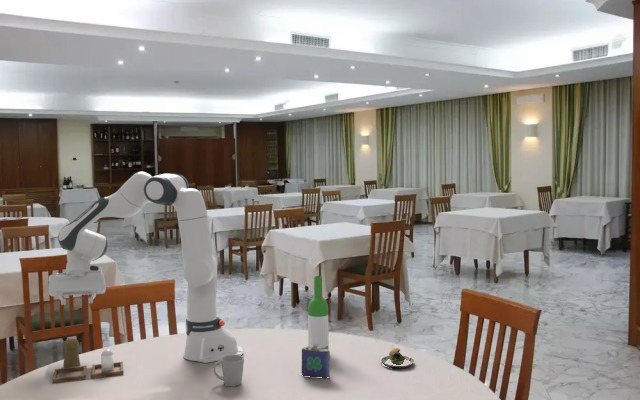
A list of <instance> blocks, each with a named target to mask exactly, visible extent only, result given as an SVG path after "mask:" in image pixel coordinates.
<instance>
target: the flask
mask: <svg viewBox="0 0 640 400" xmlns="http://www.w3.org/2000/svg"><path fill="white" fill-rule="evenodd" d="M313 345H314V346H313V347H310V348H309V347H308V345H307V346H304V347H302V348H301V376H302V375H303V376H310V377H322V378H325V379H326V378H327V377H329V378H330V377H331V376H330V372H331V371H330V367H331V366H330V353H331V352H330V350H328V349H317V345H318V344H313ZM303 376H302V377H303Z"/></svg>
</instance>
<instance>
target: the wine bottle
mask: <svg viewBox="0 0 640 400" xmlns="http://www.w3.org/2000/svg"><path fill="white" fill-rule="evenodd" d="M313 280H314V284H313V285H314V286H313V287H314V288H313V289H314V291H313V292H314V293H313V298H311V300H310V301H309V302H308V306H307V307H308V308H307V310H308V311H307V312H308V313H307V319H308V320H307V325H308V326H307V334H308V335H307V337H308V338H307V339H308V340H307V343H308V345H307V346H308V347H309V348H310V347H313V346H314V345H313V344H318V345H317V349H328V350H329V349H330V348H329V347H330V346H329V344H330V342H329V304H328V301H327V299H325V298H324V297H323V277H322V276H321V275H315V276H314V278H313ZM329 351H330V350H329Z"/></svg>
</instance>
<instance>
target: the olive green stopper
mask: <svg viewBox="0 0 640 400" xmlns="http://www.w3.org/2000/svg"><path fill="white" fill-rule="evenodd" d="M62 347H63V350H64V357H63V367H62V368H70V367H78V366H81V361H80V360H81V359H80V354H79V350H78V348H79V347H80V342H79V340H78V339H76V338H70V339H67V340H64V341H63V344H62Z"/></svg>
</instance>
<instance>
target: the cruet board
mask: <svg viewBox="0 0 640 400" xmlns="http://www.w3.org/2000/svg"><path fill="white" fill-rule="evenodd" d="M87 366H88V365H80V366H78V367H70V368H63V367H62V368H55V369H54V371H53V377H52V384H51V385H57V384H64V383H73V382H81V381H90V380H96V379H103V378H104V379H105V378H115V377H123V376H124V375H125V374H124V361H116V362H115V361H114V371H112V372H103V373H102V369H101V363H98V364H97V363H96V364H92V365H91V367H87Z"/></svg>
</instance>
